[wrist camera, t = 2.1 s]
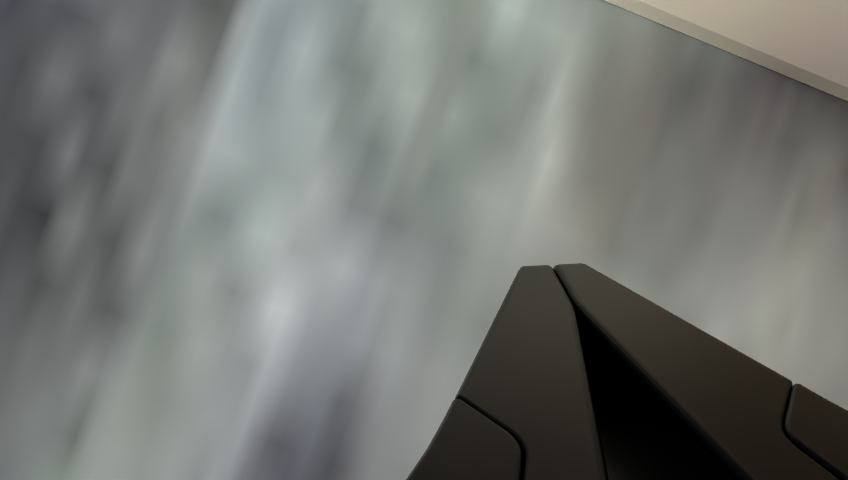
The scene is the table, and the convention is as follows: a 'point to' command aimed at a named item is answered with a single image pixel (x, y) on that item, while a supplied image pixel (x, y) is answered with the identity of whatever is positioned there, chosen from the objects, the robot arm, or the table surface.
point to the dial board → (766, 33)
